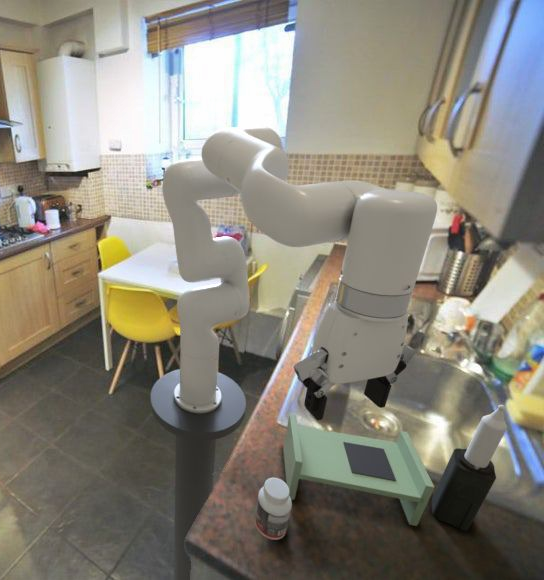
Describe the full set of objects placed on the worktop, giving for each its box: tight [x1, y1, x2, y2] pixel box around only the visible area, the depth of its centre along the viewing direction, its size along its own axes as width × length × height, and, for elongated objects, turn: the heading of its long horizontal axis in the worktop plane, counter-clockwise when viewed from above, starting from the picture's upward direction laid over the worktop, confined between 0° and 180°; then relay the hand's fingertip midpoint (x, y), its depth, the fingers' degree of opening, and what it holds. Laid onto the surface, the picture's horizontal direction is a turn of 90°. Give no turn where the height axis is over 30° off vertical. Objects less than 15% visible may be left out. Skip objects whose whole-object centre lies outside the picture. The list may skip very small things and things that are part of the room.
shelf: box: [282, 413, 436, 527], centre depth 69 cm, size 12×21×10 cm, turn 75°
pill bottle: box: [254, 477, 293, 541], centre depth 62 cm, size 5×5×10 cm
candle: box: [431, 404, 508, 531], centre depth 60 cm, size 5×5×25 cm
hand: (343, 406), depth 51 cm, fingers open, 9 cm apart
